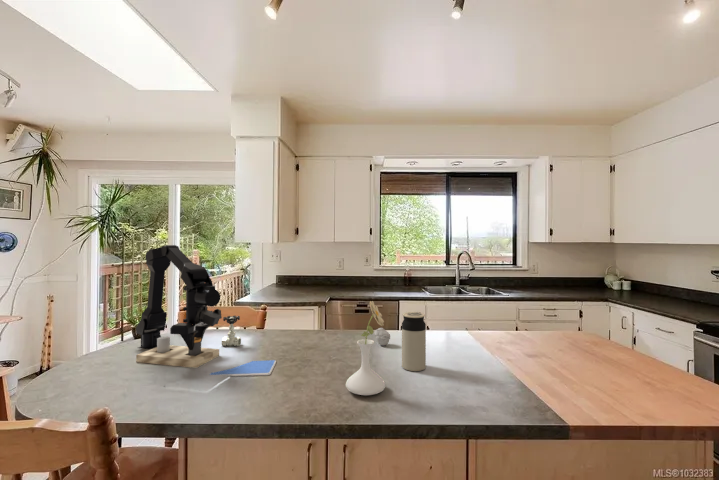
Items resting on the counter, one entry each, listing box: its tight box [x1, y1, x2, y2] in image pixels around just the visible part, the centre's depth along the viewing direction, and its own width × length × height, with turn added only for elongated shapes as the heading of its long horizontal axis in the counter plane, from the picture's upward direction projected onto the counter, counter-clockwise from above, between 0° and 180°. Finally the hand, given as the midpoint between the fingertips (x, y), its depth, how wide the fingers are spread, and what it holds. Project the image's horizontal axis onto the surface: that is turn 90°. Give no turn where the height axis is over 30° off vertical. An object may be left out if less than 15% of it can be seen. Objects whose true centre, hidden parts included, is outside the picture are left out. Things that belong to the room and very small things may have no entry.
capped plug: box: [188, 337, 202, 356], centre depth 117 cm, size 4×4×7 cm
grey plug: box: [157, 336, 171, 353], centre depth 120 cm, size 4×4×7 cm
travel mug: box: [401, 311, 427, 372], centre depth 113 cm, size 8×8×18 cm
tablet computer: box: [209, 359, 277, 378], centre depth 111 cm, size 19×13×1 cm, turn 94°
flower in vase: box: [345, 300, 387, 396], centre depth 96 cm, size 13×11×25 cm
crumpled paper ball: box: [373, 327, 391, 346], centre depth 137 cm, size 6×7×7 cm
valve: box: [221, 315, 242, 348], centre depth 134 cm, size 7×7×12 cm
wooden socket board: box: [135, 344, 220, 369], centre depth 119 cm, size 24×12×3 cm, turn 77°
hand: (194, 348), depth 117 cm, fingers closed on capped plug, 4 cm apart
